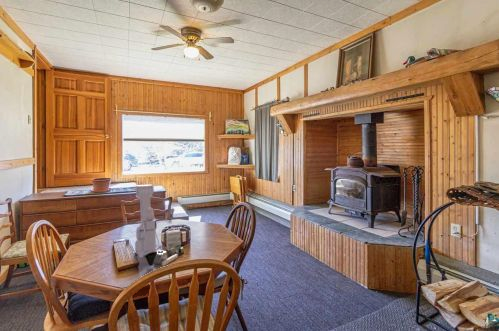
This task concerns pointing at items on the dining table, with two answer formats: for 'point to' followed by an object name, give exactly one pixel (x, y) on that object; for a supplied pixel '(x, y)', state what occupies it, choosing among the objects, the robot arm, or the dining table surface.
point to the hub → (160, 257)
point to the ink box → (173, 238)
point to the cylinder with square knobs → (176, 250)
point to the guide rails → (169, 259)
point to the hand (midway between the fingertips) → (150, 265)
